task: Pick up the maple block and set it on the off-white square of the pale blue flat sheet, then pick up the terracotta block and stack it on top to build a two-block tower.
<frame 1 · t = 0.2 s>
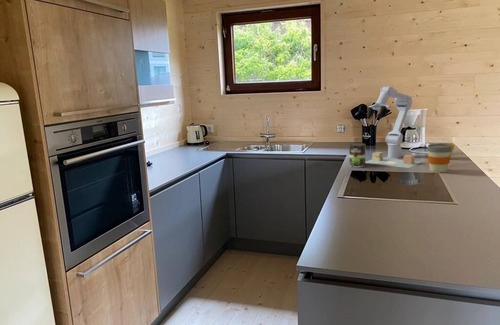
hand: (373, 117, 240), 31 cm above the counter, tool tilted 45°, fingers open, 7 cm apart
terracotta block: (408, 163, 243), point 1 cm above the counter, touching pale blue flat sheet
maple block: (377, 160, 257), point 1 cm above the counter, touching pale blue flat sheet
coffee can: (357, 165, 248), on the counter
pale blue flat sheet: (392, 163, 249), on the counter
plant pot: (444, 159, 253), on the counter
reusable coffee cup: (438, 171, 223), on the counter
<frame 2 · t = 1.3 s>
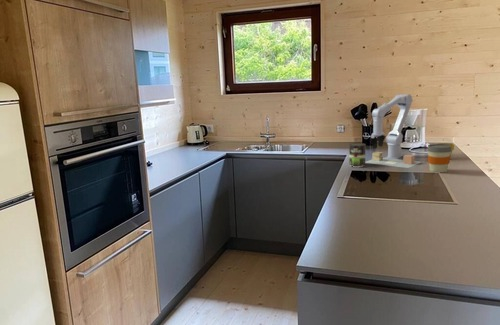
hand: (377, 147, 255), 9 cm above the counter, tool pointing down, fingers open, 7 cm apart
nothing on the counter moved.
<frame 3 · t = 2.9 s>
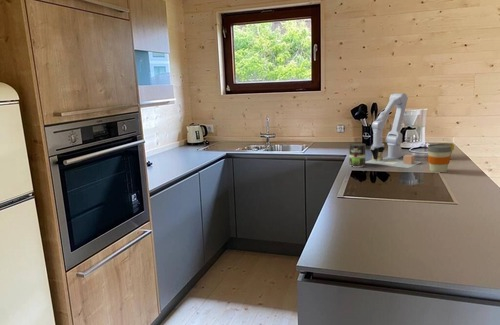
hand: (377, 158, 257), 2 cm above the counter, tool pointing down, fingers closed on maple block, 5 cm apart
maple block: (377, 160, 257), point 1 cm above the counter, touching pale blue flat sheet, gripper
everything else where it was.
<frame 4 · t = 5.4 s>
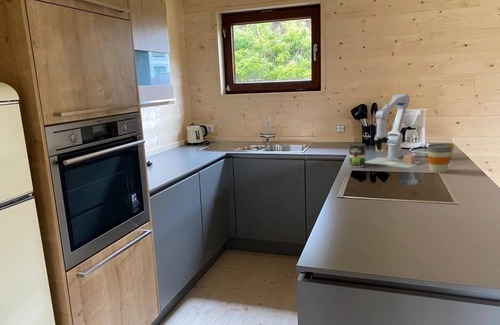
hand: (381, 149, 253), 8 cm above the counter, tool pointing down, fingers closed on maple block, 5 cm apart
maple block: (381, 150, 253), point 7 cm above the counter, touching gripper
everything else where it was.
when the fingers open (2 cm above the counter, at t = 8.3 s): maple block stays where it is, resting on pale blue flat sheet.
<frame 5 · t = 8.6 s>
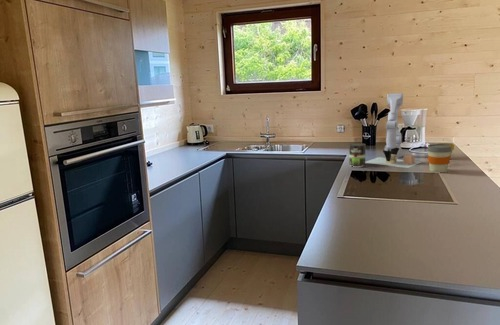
hand: (391, 160, 247), 2 cm above the counter, tool pointing down, fingers open, 7 cm apart
maple block: (390, 162, 247), point 1 cm above the counter, touching pale blue flat sheet
everything else where it was.
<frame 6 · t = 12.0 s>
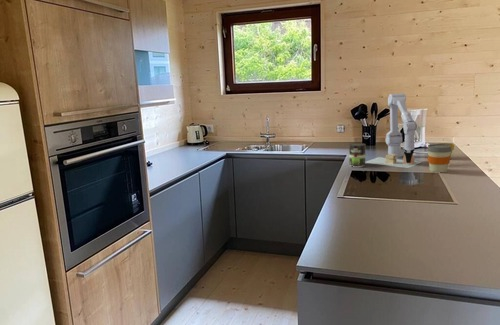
hand: (408, 161, 243), 2 cm above the counter, tool pointing down, fingers closed on terracotta block, 6 cm apart
terracotta block: (408, 163, 243), point 1 cm above the counter, touching pale blue flat sheet, gripper
everything else where it was.
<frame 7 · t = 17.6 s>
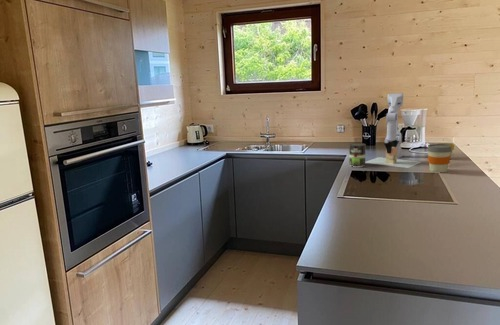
hand: (391, 152, 246), 7 cm above the counter, tool pointing down, fingers closed on terracotta block, 5 cm apart
terracotta block: (391, 155, 246), point 6 cm above the counter, touching gripper, maple block
maple block: (390, 162, 247), point 1 cm above the counter, touching pale blue flat sheet, terracotta block
everything else where it was.
when the fingers open (7 cm above the counter, at t = 17.7 s): terracotta block stays where it is, resting on maple block.
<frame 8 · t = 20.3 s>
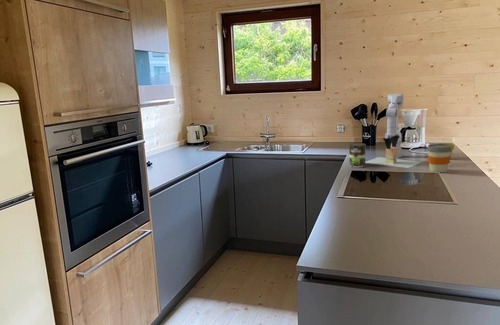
hand: (391, 147, 245), 10 cm above the counter, tool pointing down, fingers open, 7 cm apart
terracotta block: (391, 155, 246), point 6 cm above the counter, touching maple block
everything else where it was.
at the end: maple block 0.0 cm from the target spot on the pale blue flat sheet, point 0.7 cm above the pale blue flat sheet's base; terracotta block 0.3 cm off-centre on the maple block, point 5.0 cm above the maple block's base; terracotta block tilted 0° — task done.
